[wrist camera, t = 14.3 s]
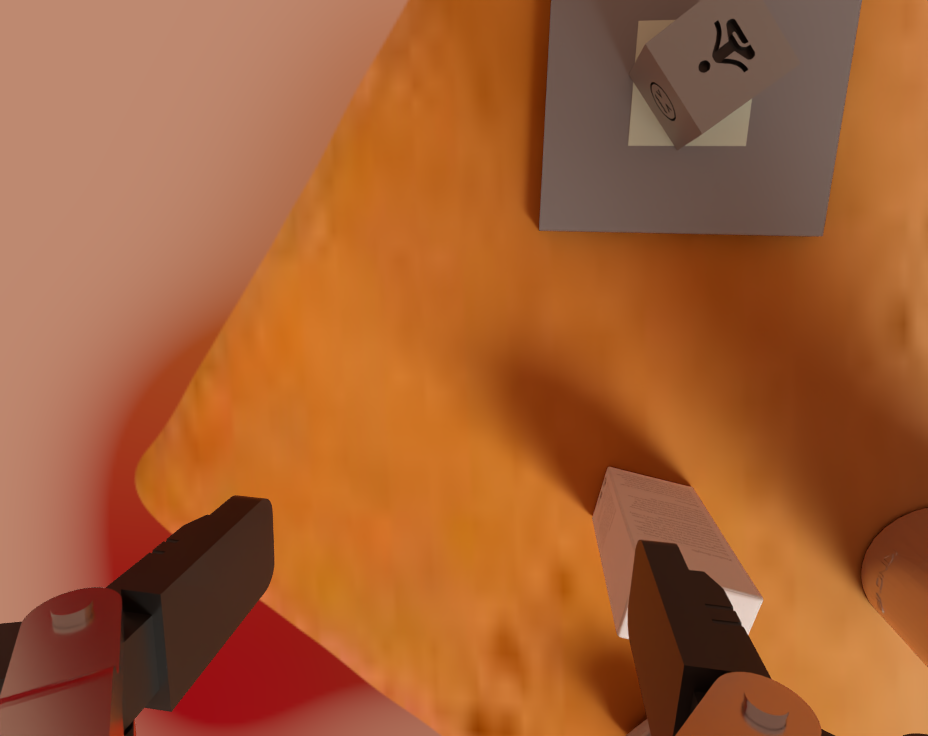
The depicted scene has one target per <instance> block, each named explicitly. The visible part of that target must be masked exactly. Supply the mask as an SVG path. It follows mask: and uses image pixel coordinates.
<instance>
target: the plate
mask: <svg viewBox="0 0 928 736" xmlns="http://www.w3.org/2000/svg"><path fill="white" fill-rule="evenodd" d="M699 1H701V0H551V12H550V31H549V50H548V70H547V89H546V108H545V127H544V146H543V165H542V184H541V203H540V222H539V231H580V232H627V233H673V234H720V235H767V236H823V231H824V225H825V219H826V213H827V207H828V201H829V195H830V189H831V183H832V177H833V171H834V165H835V159H836V153H837V147H838V141H839V135H840V129H841V123H842V117H843V111H844V105H845V99H846V93H847V87H848V81H849V75H850V69H851V62H852V56H853V50H854V44H855V38H856V32H857V26H858V20H859V14H860V8H861V2H862V0H763V1H764V3H765V4H766V6H767V8H768V9H769V11H770V13H771V14H772V16H773V18H774V19H775V21H776V23H777V24H778V26H779V28H780V29H781V31H782V33H783V34H784V36H785V38H786V39H787V41H788V43H789V44H790V46H791V48H792V49H793V51H794V53H795V54H796V56H797V58H798V59H799V61H800V63H801V64H799V65H798V66H797V67H795V68H794V69H792V70H791V71H790V72H788V73H787V74H785V75H784V76H783V77H781V78H780V79H778V80H777V81H776V82H774V83H773V84H771V85H770V86H769V87H767V88H766V89H765V90H763V91H762V92H760V93H759V94H758V95H756V96H755V97H753V98H752V99H751V100H749V101H748V102H746V103H745V104H744V105H742V106H741V107H739V108H738V109H737V110H735V111H734V112H733V113H731V114H730V115H728V116H727V117H726V118H724V119H723V120H721V121H720V122H719V123H717V124H716V125H714V126H713V127H712V128H710V129H709V130H708V131H706V132H705V133H703V134H702V135H700V136H699V137H697V138H696V139H694V140H693V141H691V142H690V143H688V144H687V145H685V146H683V147H682V148H680V149H679V150H677V149H676V148H675V146H674V145H673V143H672V142H671V140H670V138H669V137H668V135H667V134H666V132H665V131H664V129H663V128H662V126H661V124H660V123H659V121H658V120H657V118H656V117H655V115H654V113H653V112H652V110H651V109H650V107H649V106H648V104H647V103H646V101H645V99H644V98H643V96H642V95H641V93H640V92H639V90H638V88H637V87H636V85H635V84H634V82H633V81H632V79H631V78H630V76H629V73H630V71H631V69H632V67H633V66H634V64H635V62H636V60H637V58H638V56H639V54H640V53H641V51H642V49H643V47H644V45H645V44H646V43H647V42H648V41H649V40H651V39H652V38H653V37H655V36H656V35H657V34H658V33H660V32H661V31H662V30H664V29H665V28H666V27H667V26H669V25H670V24H671V23H672V22H674V21H675V20H676V19H678V18H679V17H680V16H681V15H683V14H684V13H685V12H686V11H688V10H689V9H690V8H692V7H693V6H694V5H695V4H697V3H698V2H699Z"/></svg>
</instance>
